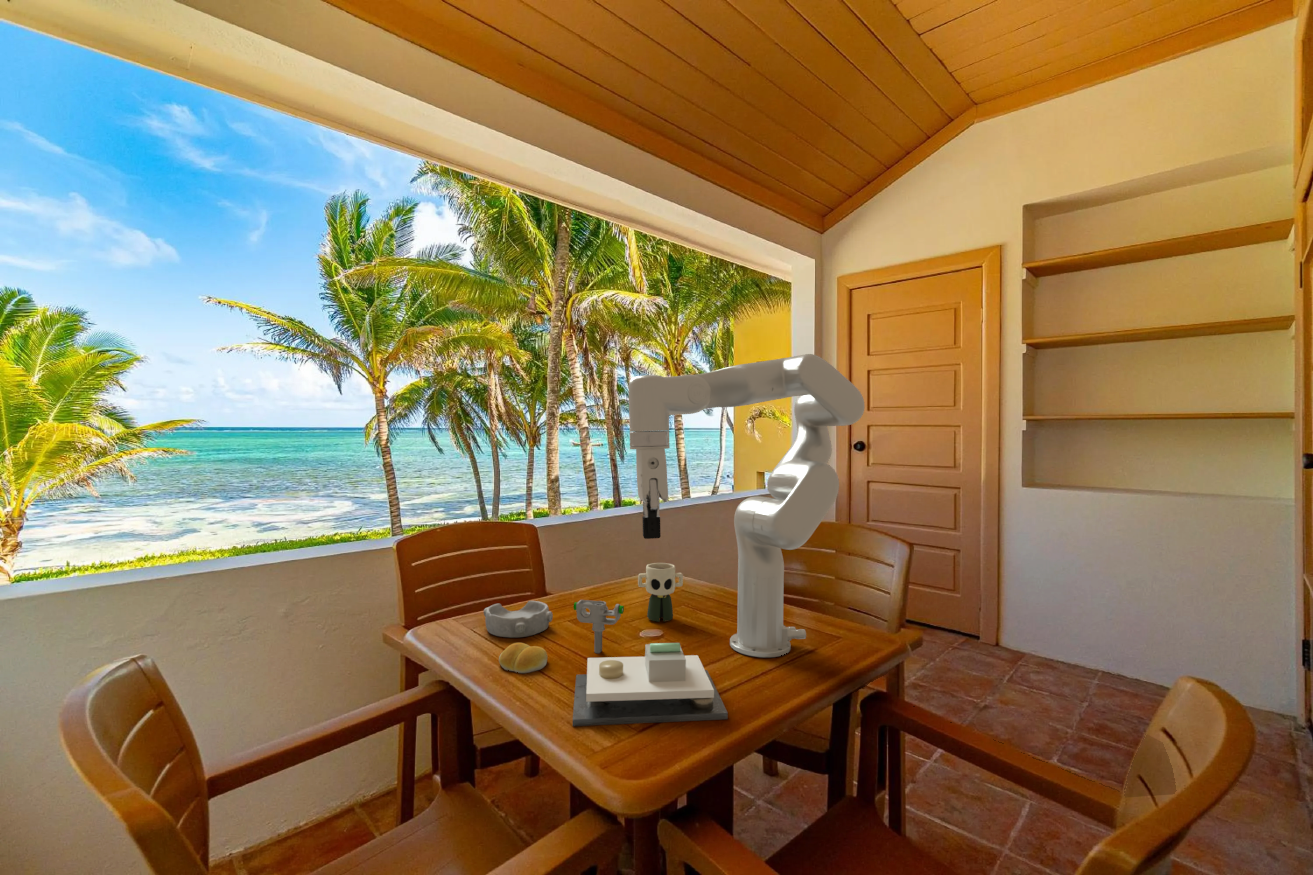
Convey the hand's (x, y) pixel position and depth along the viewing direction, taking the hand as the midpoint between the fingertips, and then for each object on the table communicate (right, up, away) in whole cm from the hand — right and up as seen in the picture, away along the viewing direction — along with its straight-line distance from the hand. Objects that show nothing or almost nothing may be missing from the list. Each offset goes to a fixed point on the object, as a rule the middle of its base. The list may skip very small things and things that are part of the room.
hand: (651, 537), depth 105 cm
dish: (-31, -25, +21) cm, 45 cm away
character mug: (+2, -25, +29) cm, 38 cm away
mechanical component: (-11, -25, +8) cm, 28 cm away
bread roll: (-25, -25, +1) cm, 35 cm away
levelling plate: (-1, -22, -12) cm, 25 cm away
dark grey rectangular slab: (-1, -25, -12) cm, 28 cm away
